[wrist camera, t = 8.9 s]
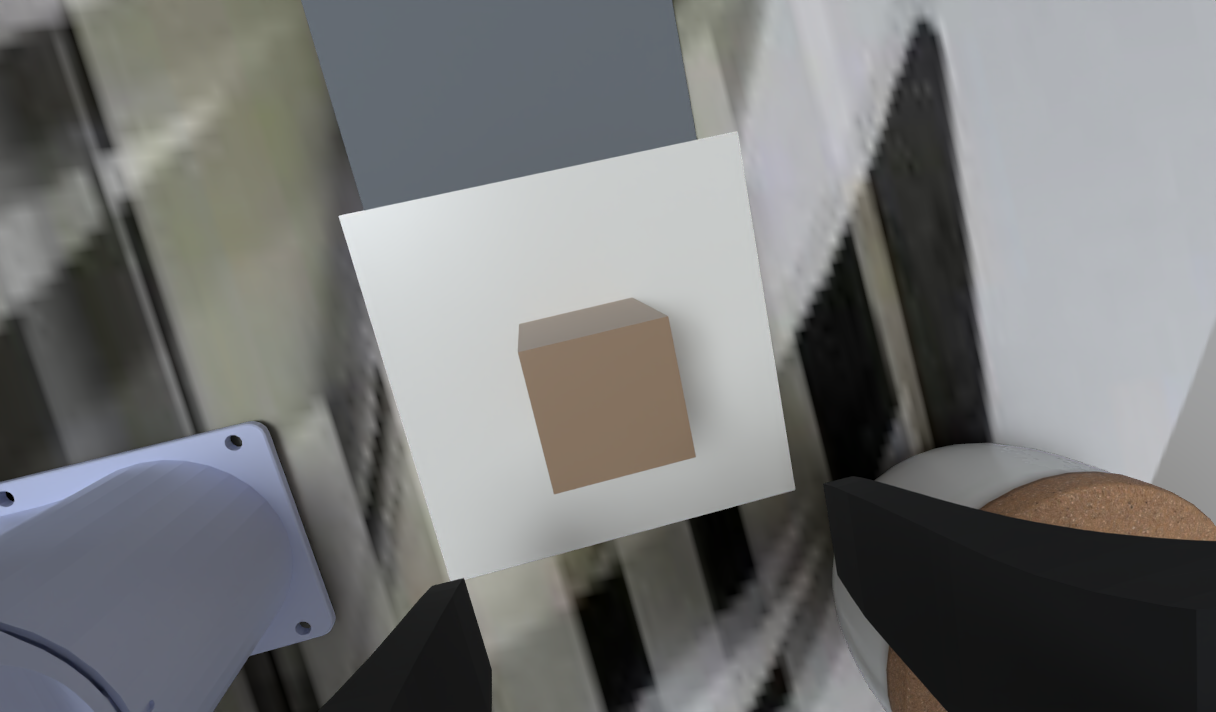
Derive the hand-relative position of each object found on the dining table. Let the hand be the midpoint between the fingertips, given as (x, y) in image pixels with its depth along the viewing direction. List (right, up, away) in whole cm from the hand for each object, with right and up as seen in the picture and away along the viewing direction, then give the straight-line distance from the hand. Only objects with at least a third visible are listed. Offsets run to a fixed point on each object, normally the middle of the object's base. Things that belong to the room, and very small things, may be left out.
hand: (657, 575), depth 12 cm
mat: (-4, +15, +7) cm, 17 cm away
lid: (-2, +4, +5) cm, 7 cm away
